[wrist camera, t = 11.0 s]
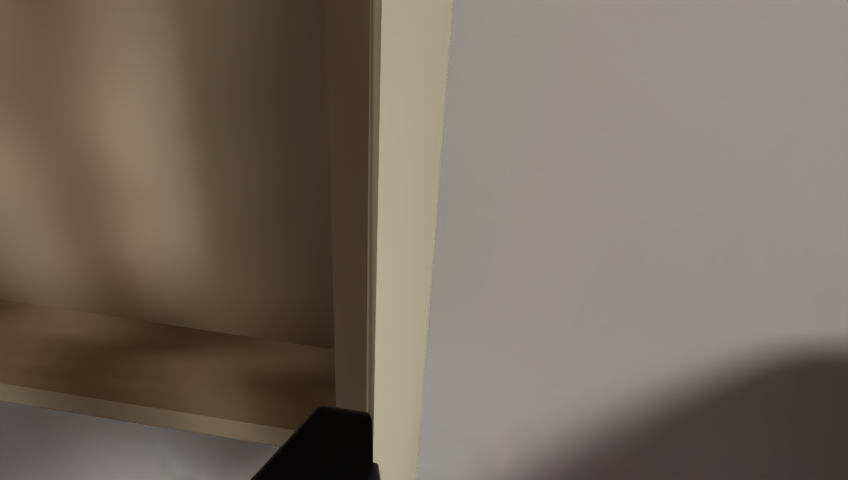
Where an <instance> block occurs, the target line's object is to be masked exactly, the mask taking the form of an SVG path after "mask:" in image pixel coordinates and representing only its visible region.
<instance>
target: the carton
mask: <svg viewBox="0 0 848 480" xmlns="http://www.w3.org/2000/svg"><path fill="white" fill-rule="evenodd" d="M369 53H370V0H0V401H5V402H11V403H17V404H23V405H29V406H36V407H42V408H48V409H54V410H60V411H66V412H72V413H79V414H85V415H91V416H97V417H103V418H109V419H116V420H122V421H128V422H134V423H140V424H146V425H153V426H159V427H165V428H171V429H177V430H183V431H189V432H196V433H202V434H208V435H214V436H220V437H226V438H233V439H239V440H245V441H251V442H257V443H263V444H270V445H276V446H282V445H283V444H284V443H285V442H286V441H287V439H288V438H289V437H290V436H291V435H292V434H293V433H294V432H295V431H296V430H297V429H298V427H299V426H300V425H301V424H302V423H303V422H304V421H305V420H306V419H307V418H308V417H309V415H310V414H311V413H312V412H313V411H314V410H315V409H316V408H318V407H320V406H331V407H338V408H345V409H351V410H358V411H365V412H366V364H367V261H368V157H369Z"/></svg>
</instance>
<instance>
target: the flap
mask: <svg viewBox="0 0 848 480" xmlns="http://www.w3.org/2000/svg"><path fill="white" fill-rule="evenodd" d="M452 10H453V0H370V53H369V157H368V261H367V364H366V412H368V413H370V415H371V417H372V434H373V462H374V463H377V464H378V465H379V471H380V477H381V480H417V469H418V456H419V442H420V429H421V416H422V403H423V390H424V377H425V364H426V351H427V338H428V325H429V312H430V298H431V285H432V272H433V259H434V246H435V233H436V220H437V207H438V194H439V181H440V168H441V154H442V141H443V128H444V115H445V102H446V89H447V76H448V63H449V50H450V37H451V23H452Z"/></svg>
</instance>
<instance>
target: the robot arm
mask: <svg viewBox="0 0 848 480" xmlns="http://www.w3.org/2000/svg"><path fill="white" fill-rule="evenodd" d="M251 480H381V477H380V471H379V465H378V464H377V463H374V462H373V434H372V417H371V415H370V413H368V412H365V411H358V410H351V409H345V408H338V407H331V406H320V407H318V408H316V409H315V410H314V411H313V412H312V413H311V414H310V415H309V417H308V418H307V419H306V420H305V421H304V422H303V423H302V424H301V425H300V426H299V427H298V429H297V430H296V431H295V432H294V433H293V434H292V435H291V436H290V437H289V438H288V439H287V441H286V442H285V443H284V444H283V445H282V446H281V447H280V448H279V449H278V450H277V452H276V453H275V454H274V455H273V456H272V457H271V458H270V459H269V460H268V461H267V462H266V464H265V465H264V466H263V467H262V468H261V469H260V470H259V471H258V472H257V473H256V474H255V476H254V477H253V478H252V479H251Z"/></svg>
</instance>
